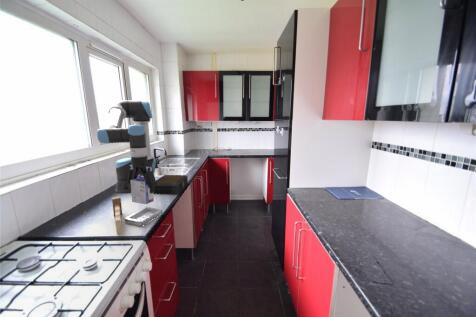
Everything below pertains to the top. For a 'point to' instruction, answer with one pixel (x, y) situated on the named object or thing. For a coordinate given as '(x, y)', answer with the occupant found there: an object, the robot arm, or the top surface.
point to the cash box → (170, 184)
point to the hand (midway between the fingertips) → (142, 197)
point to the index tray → (143, 216)
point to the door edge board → (117, 213)
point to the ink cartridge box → (140, 191)
